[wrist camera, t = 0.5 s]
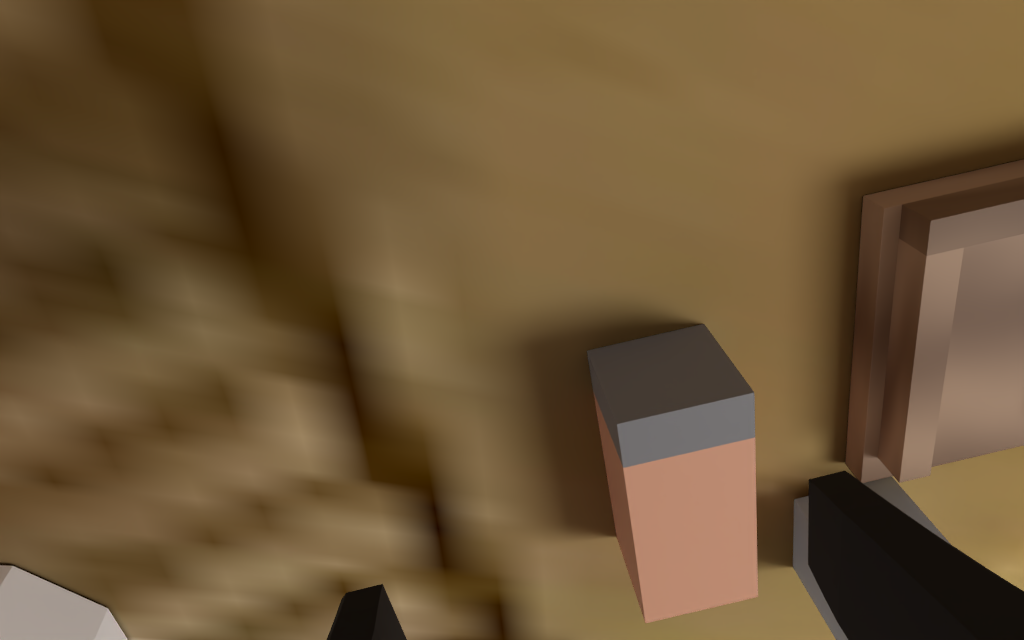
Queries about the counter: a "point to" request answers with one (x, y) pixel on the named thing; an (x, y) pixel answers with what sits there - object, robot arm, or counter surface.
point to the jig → (938, 324)
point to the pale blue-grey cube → (800, 541)
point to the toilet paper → (49, 611)
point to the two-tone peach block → (679, 469)
